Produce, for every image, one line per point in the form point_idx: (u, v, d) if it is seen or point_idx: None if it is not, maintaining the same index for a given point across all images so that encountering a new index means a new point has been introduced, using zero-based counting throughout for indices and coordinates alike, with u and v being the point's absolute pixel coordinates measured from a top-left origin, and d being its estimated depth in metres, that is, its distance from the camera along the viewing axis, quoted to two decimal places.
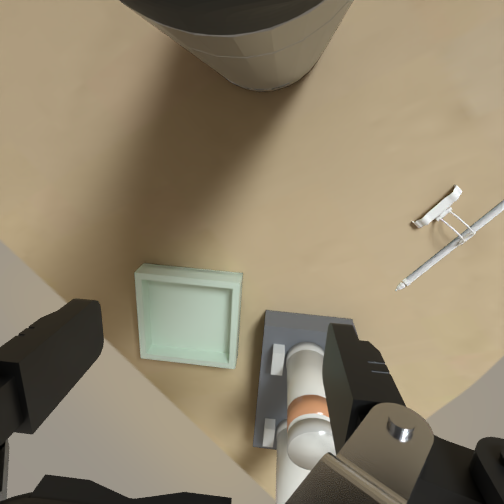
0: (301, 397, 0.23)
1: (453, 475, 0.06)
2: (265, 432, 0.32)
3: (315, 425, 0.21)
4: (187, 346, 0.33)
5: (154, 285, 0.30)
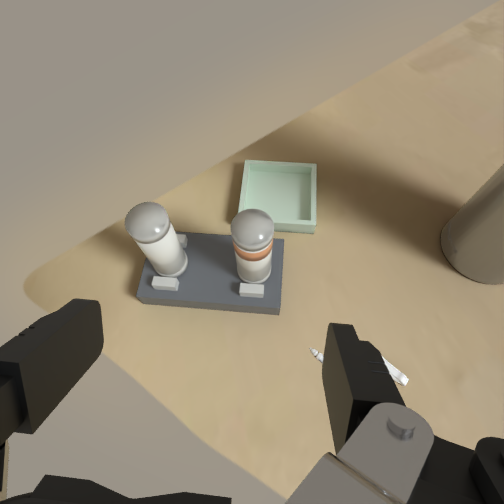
0: None
1: (453, 475, 0.06)
2: (180, 235, 0.36)
3: (273, 228, 0.28)
4: (249, 193, 0.42)
5: (300, 177, 0.43)
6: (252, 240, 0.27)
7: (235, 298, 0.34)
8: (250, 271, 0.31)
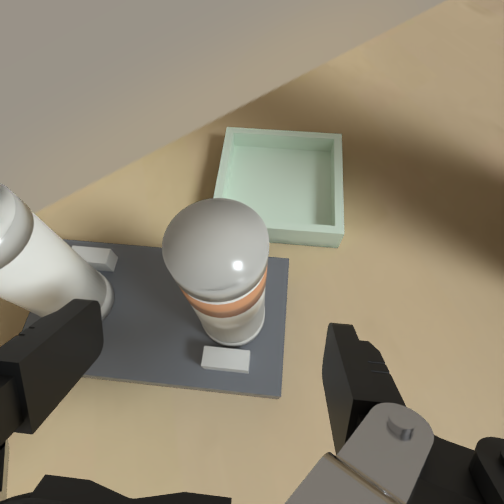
0: None
1: (453, 475, 0.06)
2: (102, 249, 0.20)
3: None
4: (232, 180, 0.26)
5: (314, 156, 0.27)
6: (213, 277, 0.11)
7: (195, 373, 0.18)
8: (221, 331, 0.15)
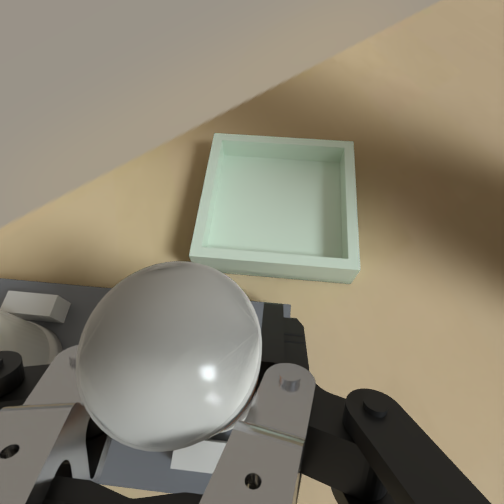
0: None
1: (327, 419, 0.07)
2: (46, 296, 0.15)
3: None
4: (220, 197, 0.21)
5: (320, 168, 0.22)
6: (161, 418, 0.06)
7: (164, 472, 0.13)
8: None
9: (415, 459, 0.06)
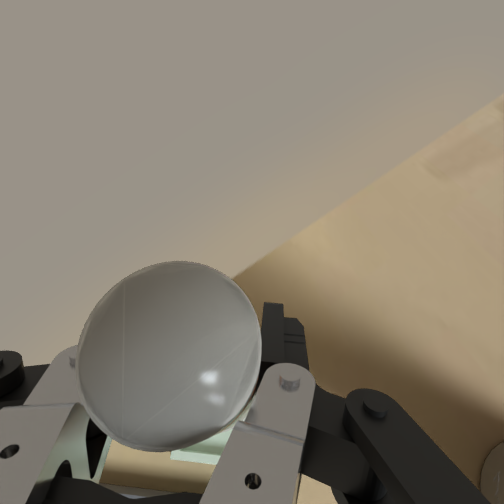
0: None
1: (327, 419, 0.07)
2: None
3: None
4: None
5: None
6: (161, 418, 0.06)
7: None
8: None
9: (415, 459, 0.06)
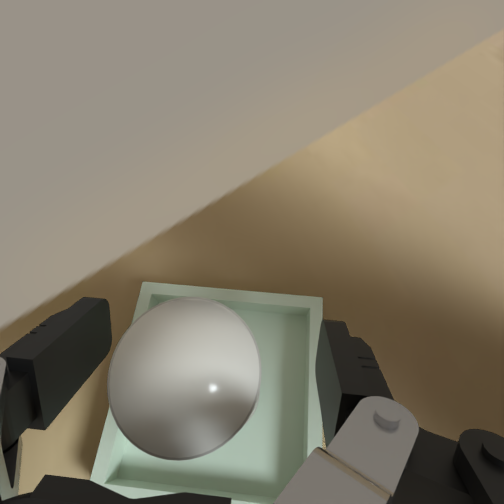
0: None
1: (437, 466, 0.06)
2: None
3: None
4: None
5: (281, 324, 0.17)
6: (179, 433, 0.07)
7: None
8: None
9: None
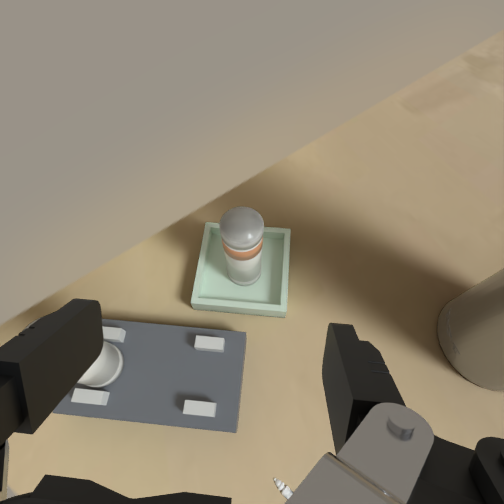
0: None
1: (453, 475, 0.06)
2: (115, 329, 0.29)
3: None
4: (209, 263, 0.35)
5: (271, 243, 0.36)
6: (241, 238, 0.26)
7: (179, 417, 0.27)
8: (240, 271, 0.31)
9: None
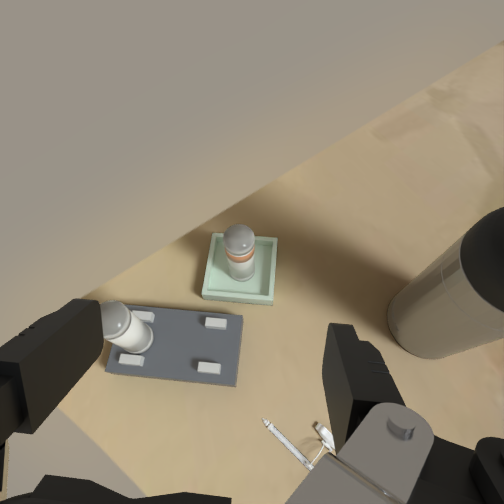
0: None
1: (453, 475, 0.06)
2: (147, 312, 0.40)
3: (254, 239, 0.38)
4: (215, 264, 0.46)
5: (263, 248, 0.47)
6: (238, 247, 0.37)
7: (194, 374, 0.37)
8: (238, 270, 0.41)
9: None
